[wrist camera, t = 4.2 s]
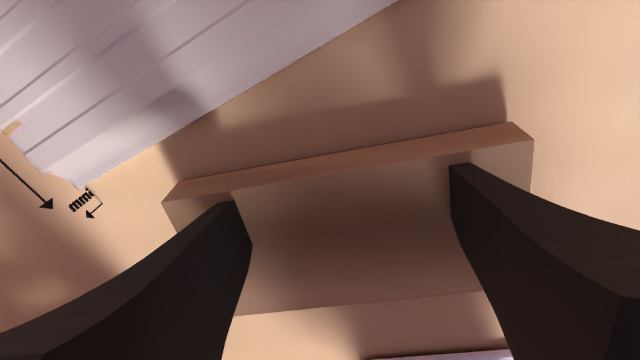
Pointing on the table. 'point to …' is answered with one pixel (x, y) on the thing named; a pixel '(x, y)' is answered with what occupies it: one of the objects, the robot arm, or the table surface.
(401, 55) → the table surface
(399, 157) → the plank
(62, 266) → the table surface
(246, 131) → the table surface
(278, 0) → the baseboard
